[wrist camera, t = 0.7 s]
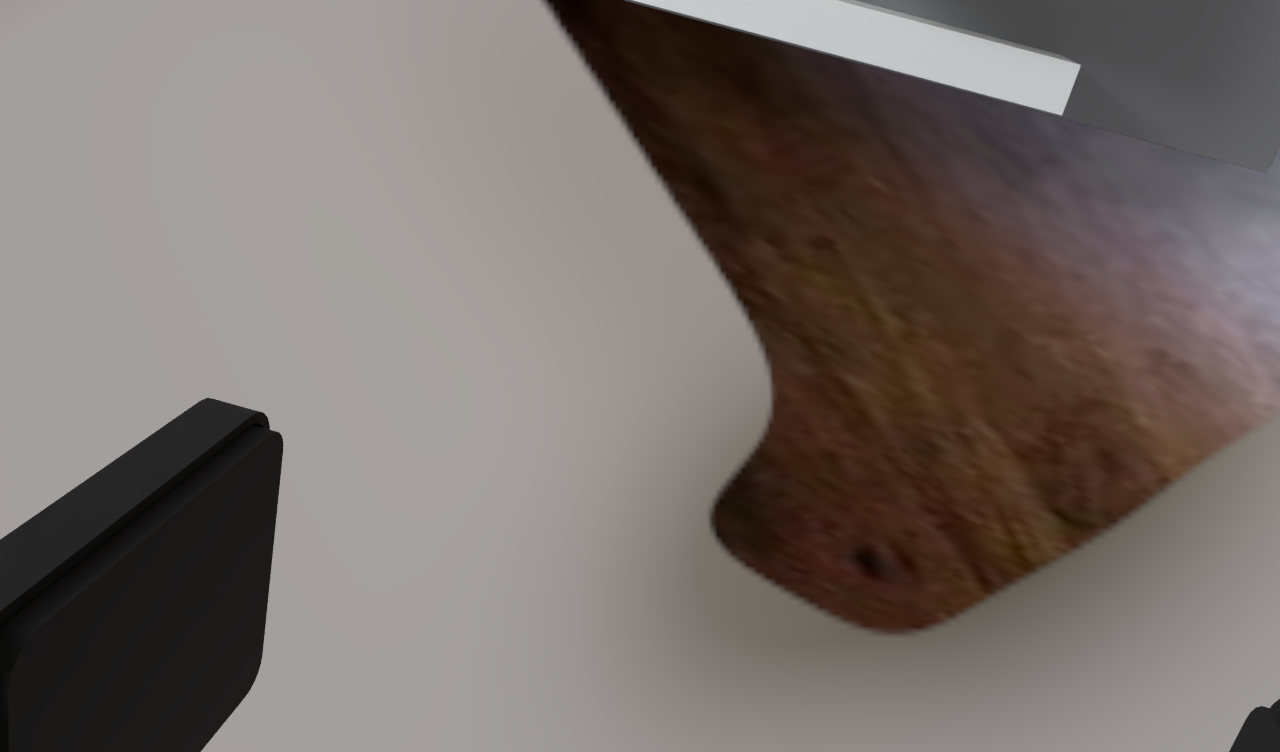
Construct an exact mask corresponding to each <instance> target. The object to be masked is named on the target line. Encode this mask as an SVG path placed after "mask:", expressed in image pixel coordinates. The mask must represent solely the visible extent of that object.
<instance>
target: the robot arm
mask: <svg viewBox="0 0 1280 752" xmlns="http://www.w3.org/2000/svg"><path fill="white" fill-rule="evenodd" d="M282 455H283V439H282V436H281V434H280V433H279V432H275V431H272V430H270V426H269V421H268V418H267V416H266V415H265V414H264V413H262V412H258V411H254V410H251V409H247V408H244V407H240V406H237V405H233V404H230V403H226V402H222V401H219V400H215V399H210V398H206V399H204V400H201V401H200V402H198V403H197V404H195V405H194V406H192V407H191V408H189V409H188V410H187V411H185V412H184V413H183V414H181V415H179V416H178V417H176V418H175V419H174V420H172V421H171V422H169V423H168V424H166V425H165V426H163V427H162V428H161V429H159V430H158V431H156V432H155V433H154V434H152V435H151V436H149V437H148V438H146V439H145V440H143V441H142V442H140V443H139V444H138V445H136V446H135V447H133V448H132V449H130V450H129V451H127V452H126V453H125V454H123V455H122V456H120V457H119V458H117V459H116V460H115V461H113V462H112V463H110V464H109V465H107V466H106V467H104V468H103V469H102V470H100V471H99V472H97V473H96V474H94V475H93V476H91V477H90V478H89V479H87V480H86V481H84V482H83V483H81V484H80V485H79V486H77V487H76V488H74V489H73V490H71V491H70V492H68V493H67V494H66V495H64V496H63V497H61V498H60V499H59V500H57V501H55V502H54V503H53V504H51V505H50V506H48V507H47V508H45V509H44V510H43V511H41V512H40V513H38V514H37V515H35V516H34V517H32V518H31V519H30V520H28V521H27V522H25V523H24V524H22V525H21V526H19V527H18V528H17V529H15V530H14V531H12V532H11V533H9V534H8V535H6V536H5V537H4V538H2V539H1V540H0V752H201V750H202V749H203V748H204V747H205V745H206V744H207V743H208V742H209V741H210V739H211V738H212V737H213V736H214V734H215V733H216V732H217V731H218V729H219V728H220V727H221V726H222V725H223V723H224V722H225V721H226V719H228V717H229V716H230V715H231V714H232V712H233V711H234V710H235V709H236V707H237V706H238V705H239V704H240V703H241V701H242V700H243V699H244V698H245V696H246V695H247V694H248V692H249V690H250V689H251V687H252V685H253V683H254V681H255V679H256V676H257V674H258V671H259V667H260V664H261V659H262V653H263V643H264V633H265V623H266V612H267V603H268V593H269V583H270V574H271V564H272V553H273V544H274V533H275V523H276V514H277V504H278V495H279V485H280V475H281V464H282ZM1229 752H1280V699H1279V700H1278V701H1277V702H1275V703H1274V704H1273V705H1272V706H1271V708H1267V707H1263V706H1261V707H1257V708H1255V709H1254V710H1253V711H1252V712H1251V713H1250V714H1249V716H1248V717H1247V719H1246V720H1245V723H1244V724H1243V726H1242V728H1241V730H1240V732H1239V734H1238V736H1237V738H1236V740H1235V742H1234V744H1233V746H1232V747H1231V749H1230V751H1229Z"/></svg>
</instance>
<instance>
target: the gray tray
mask: <svg viewBox="0 0 1280 752" xmlns="http://www.w3.org/2000/svg"><path fill="white" fill-rule="evenodd" d="M624 1H628V2H631V3H635V4H639V5H643V6H646V7H650V8H654V9H658V10H661V11H665V12H669V13H672V14H676V15H680V16H684V17H687V18H691V19H695V20H698V21H702V22H706V23H710V24H713V25H717V26H721V27H725V28H728V29H732V30H736V31H739V32H743V33H747V34H751V35H754V36H758V37H762V38H766V39H769V40H773V41H777V42H780V43H784V44H788V45H792V46H795V47H799V48H803V49H807V50H810V51H814V52H818V53H821V54H825V55H829V56H833V57H836V58H840V59H844V60H847V61H851V62H855V63H859V64H862V65H866V66H870V67H874V68H877V69H881V70H885V71H888V72H892V73H896V74H900V75H903V76H907V77H911V78H915V79H918V80H922V81H926V82H929V83H933V84H937V85H941V86H944V87H948V88H952V89H955V90H959V91H963V92H967V93H970V94H974V95H978V96H982V97H985V98H989V99H993V100H996V101H1000V102H1004V103H1008V104H1011V105H1015V106H1019V107H1023V108H1026V109H1030V110H1034V111H1037V112H1041V113H1045V114H1049V115H1052V116H1056V117H1060V118H1063V119H1067V120H1071V121H1075V122H1078V123H1082V124H1086V125H1090V126H1093V127H1097V128H1101V129H1104V130H1108V131H1112V132H1116V133H1119V134H1123V135H1127V136H1131V137H1134V138H1138V139H1142V140H1145V141H1149V142H1153V143H1157V144H1160V145H1164V146H1168V147H1171V148H1175V149H1179V150H1183V151H1186V152H1190V153H1194V154H1198V155H1201V156H1205V157H1209V158H1212V159H1216V160H1220V161H1224V162H1227V163H1231V164H1235V165H1239V166H1242V167H1246V168H1250V169H1253V170H1257V171H1261V172H1265V173H1267V172H1268V169H1269V167H1270V165H1271V163H1272V161H1273V158H1274V156H1275V154H1276V152H1277V150H1278V147H1279V145H1280V0H624Z"/></svg>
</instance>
